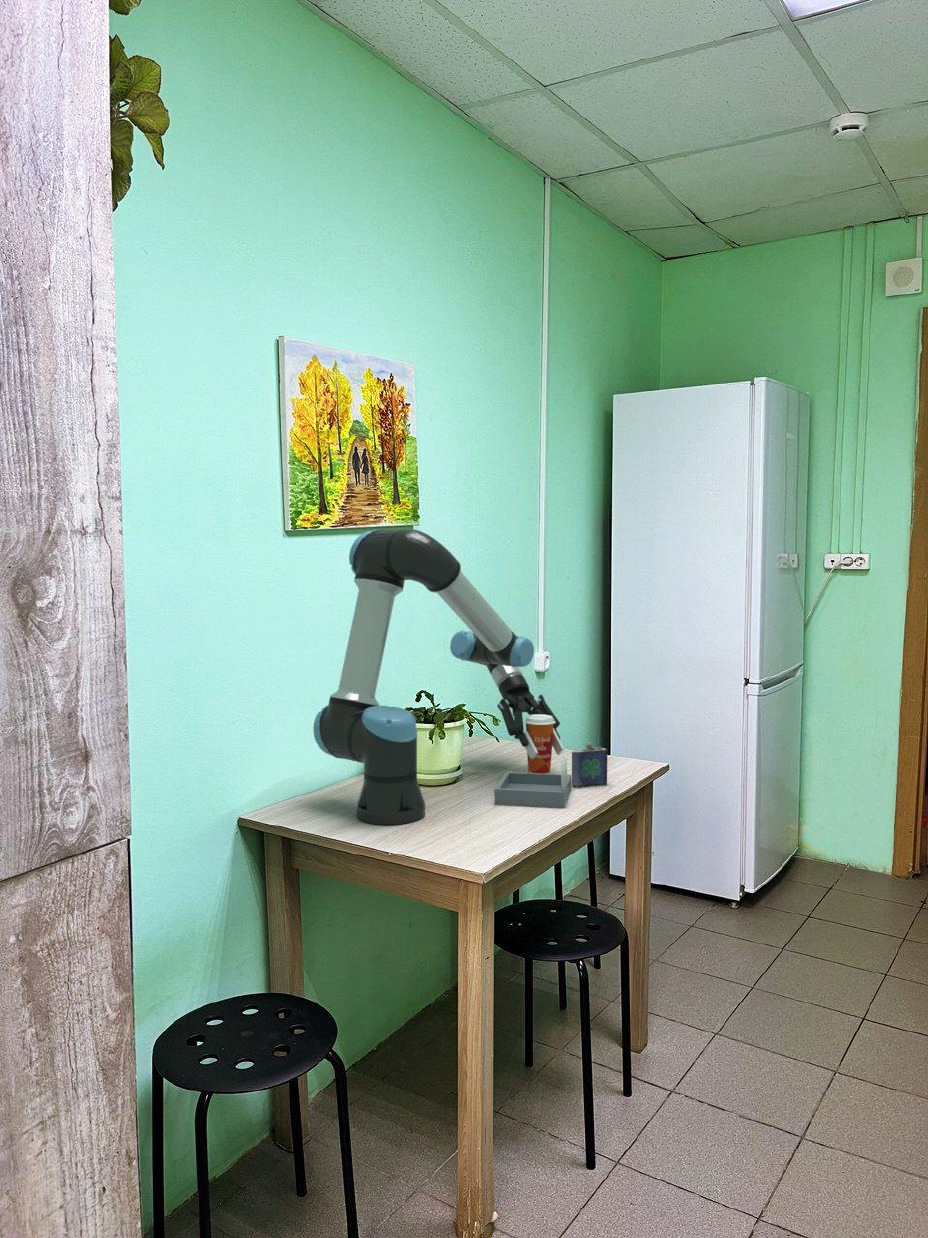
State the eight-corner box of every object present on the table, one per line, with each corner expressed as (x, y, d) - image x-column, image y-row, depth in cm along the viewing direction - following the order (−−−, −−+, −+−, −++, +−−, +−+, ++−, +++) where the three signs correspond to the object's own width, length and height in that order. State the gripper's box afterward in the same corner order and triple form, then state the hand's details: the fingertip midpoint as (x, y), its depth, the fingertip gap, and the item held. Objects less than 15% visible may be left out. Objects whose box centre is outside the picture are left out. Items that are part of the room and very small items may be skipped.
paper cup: (521, 773, 230) (521, 718, 229) (527, 766, 238) (528, 713, 236) (551, 775, 228) (552, 720, 227) (557, 768, 235) (558, 714, 234)
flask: (573, 788, 222) (573, 745, 221) (569, 785, 225) (569, 742, 224) (609, 785, 224) (609, 742, 223) (604, 782, 227) (604, 740, 226)
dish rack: (494, 804, 209) (494, 761, 208) (506, 785, 225) (505, 745, 224) (564, 808, 206) (564, 764, 205) (571, 788, 221) (571, 748, 220)
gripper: (535, 687, 250) (572, 757, 237) (472, 694, 239) (508, 767, 226) (547, 670, 245) (586, 740, 233) (484, 676, 234) (521, 750, 222)
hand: (547, 753), depth 230 cm, fingers closed on paper cup, 8 cm apart
